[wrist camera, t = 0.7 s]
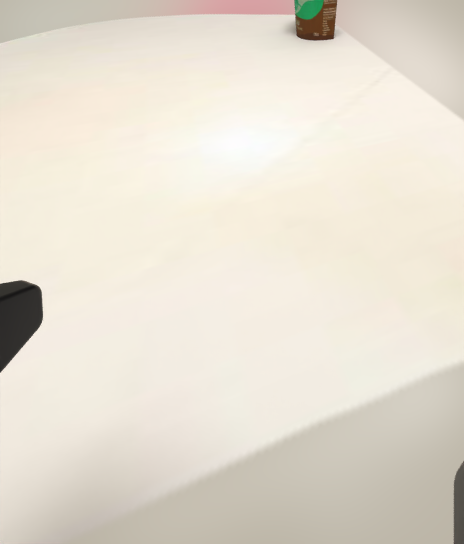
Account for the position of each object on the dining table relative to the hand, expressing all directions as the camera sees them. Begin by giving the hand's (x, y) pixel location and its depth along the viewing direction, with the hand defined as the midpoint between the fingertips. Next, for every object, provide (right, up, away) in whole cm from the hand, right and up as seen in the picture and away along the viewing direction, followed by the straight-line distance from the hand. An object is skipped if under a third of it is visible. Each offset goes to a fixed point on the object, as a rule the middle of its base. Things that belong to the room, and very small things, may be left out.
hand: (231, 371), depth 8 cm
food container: (+14, +44, +66) cm, 81 cm away
